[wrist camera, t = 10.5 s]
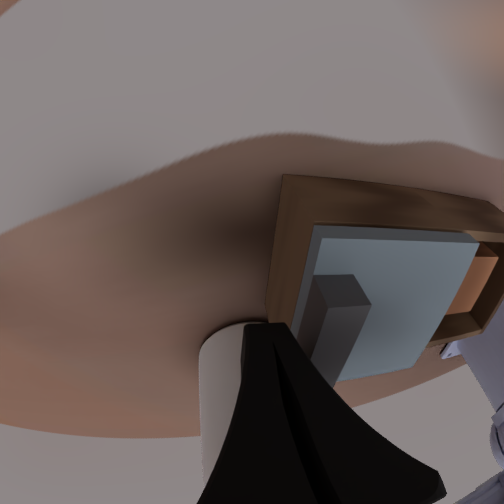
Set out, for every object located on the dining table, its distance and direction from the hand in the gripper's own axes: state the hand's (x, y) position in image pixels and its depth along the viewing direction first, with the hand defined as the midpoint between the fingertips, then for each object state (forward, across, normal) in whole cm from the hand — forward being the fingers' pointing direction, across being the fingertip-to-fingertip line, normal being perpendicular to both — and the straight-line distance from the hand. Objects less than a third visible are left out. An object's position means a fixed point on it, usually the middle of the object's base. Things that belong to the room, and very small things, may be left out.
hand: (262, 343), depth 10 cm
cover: (+1, -5, 0) cm, 5 cm away
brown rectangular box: (+6, -9, 0) cm, 11 cm away
